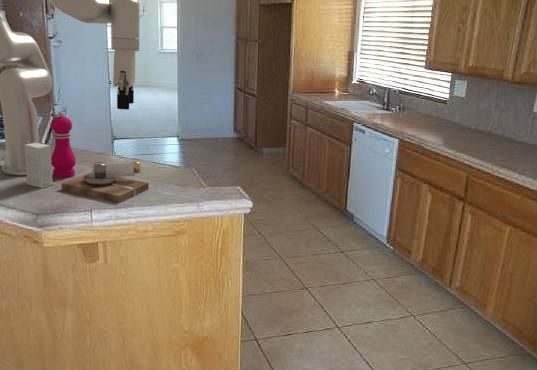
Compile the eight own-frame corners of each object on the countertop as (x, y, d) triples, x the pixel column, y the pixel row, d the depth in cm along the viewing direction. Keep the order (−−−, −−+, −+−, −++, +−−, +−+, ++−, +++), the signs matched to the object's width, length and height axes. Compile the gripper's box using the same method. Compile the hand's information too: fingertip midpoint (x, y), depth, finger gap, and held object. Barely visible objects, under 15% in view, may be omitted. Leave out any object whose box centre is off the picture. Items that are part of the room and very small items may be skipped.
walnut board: (61, 189, 150) (61, 182, 149) (94, 177, 162) (93, 171, 161) (119, 202, 143) (119, 195, 142) (148, 189, 156) (148, 182, 155)
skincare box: (53, 184, 153) (51, 145, 149) (41, 188, 149) (39, 148, 146) (38, 180, 155) (35, 141, 152) (26, 184, 152) (23, 144, 148)
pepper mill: (68, 179, 158) (65, 114, 152) (46, 176, 160) (42, 112, 153) (80, 173, 165) (78, 110, 159) (60, 170, 166) (57, 108, 160)
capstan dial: (85, 186, 147) (84, 168, 145) (82, 177, 155) (81, 160, 153) (143, 183, 153) (143, 166, 152) (137, 174, 161) (137, 158, 159)
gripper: (116, 41, 152) (116, 100, 157) (105, 45, 135) (106, 110, 141) (142, 43, 153) (142, 101, 158) (135, 47, 136) (135, 112, 142)
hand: (125, 106), depth 149 cm, fingers open, 9 cm apart
